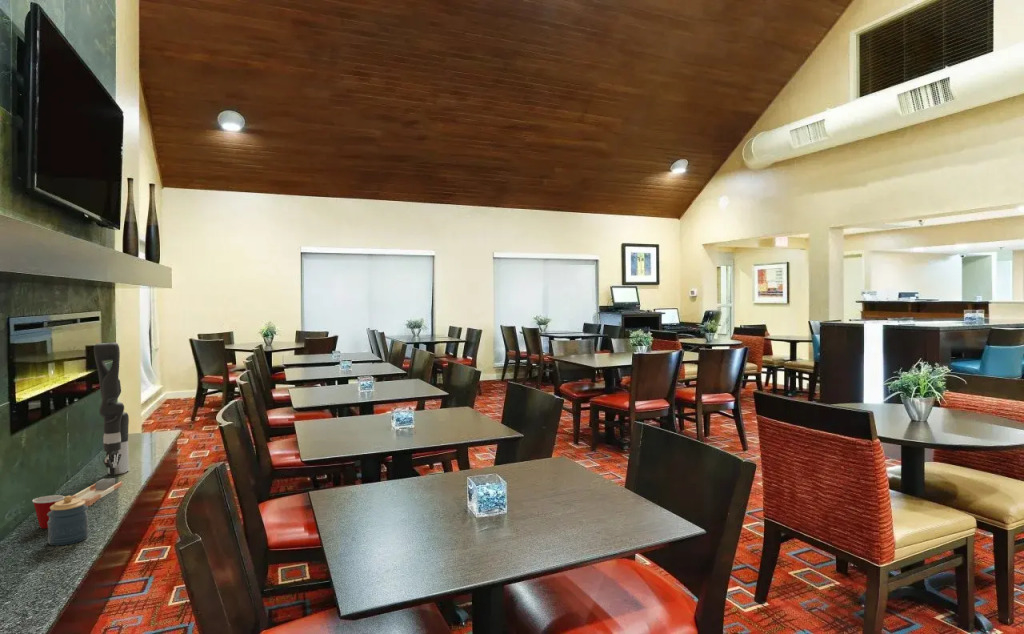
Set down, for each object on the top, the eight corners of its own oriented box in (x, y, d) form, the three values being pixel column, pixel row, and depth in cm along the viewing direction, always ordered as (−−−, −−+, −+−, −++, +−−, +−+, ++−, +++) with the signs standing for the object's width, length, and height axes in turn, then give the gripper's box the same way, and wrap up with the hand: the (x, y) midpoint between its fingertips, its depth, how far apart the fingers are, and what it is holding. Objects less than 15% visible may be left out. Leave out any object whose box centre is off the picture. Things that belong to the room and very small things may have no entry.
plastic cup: (71, 523, 249) (70, 495, 249) (41, 532, 239) (41, 503, 239) (56, 519, 253) (55, 492, 253) (27, 528, 244) (26, 499, 243)
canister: (65, 533, 239) (64, 490, 238) (96, 533, 238) (95, 490, 238) (39, 546, 226) (38, 501, 225) (71, 546, 225) (70, 501, 225)
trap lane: (97, 487, 297) (97, 482, 297) (122, 486, 299) (122, 481, 299) (61, 507, 269) (61, 501, 269) (89, 505, 270) (89, 500, 270)
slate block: (102, 486, 297) (102, 478, 297) (115, 485, 298) (115, 478, 298) (95, 490, 291) (95, 482, 291) (108, 489, 292) (108, 481, 292)
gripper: (111, 438, 308) (111, 471, 308) (96, 444, 294) (97, 478, 294) (126, 438, 308) (127, 471, 308) (112, 443, 295) (113, 478, 295)
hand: (112, 474), depth 301 cm, fingers closed
